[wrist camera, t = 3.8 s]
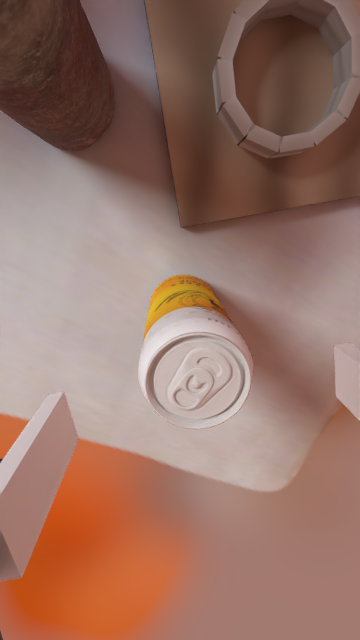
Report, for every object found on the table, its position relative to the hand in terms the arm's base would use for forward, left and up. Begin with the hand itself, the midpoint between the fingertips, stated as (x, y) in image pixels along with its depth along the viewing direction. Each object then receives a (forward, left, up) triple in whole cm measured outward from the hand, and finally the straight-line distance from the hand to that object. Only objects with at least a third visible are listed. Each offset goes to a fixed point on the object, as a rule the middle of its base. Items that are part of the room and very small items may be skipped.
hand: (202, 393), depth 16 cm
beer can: (0, 0, -16) cm, 16 cm away
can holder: (+10, +16, -15) cm, 25 cm away
